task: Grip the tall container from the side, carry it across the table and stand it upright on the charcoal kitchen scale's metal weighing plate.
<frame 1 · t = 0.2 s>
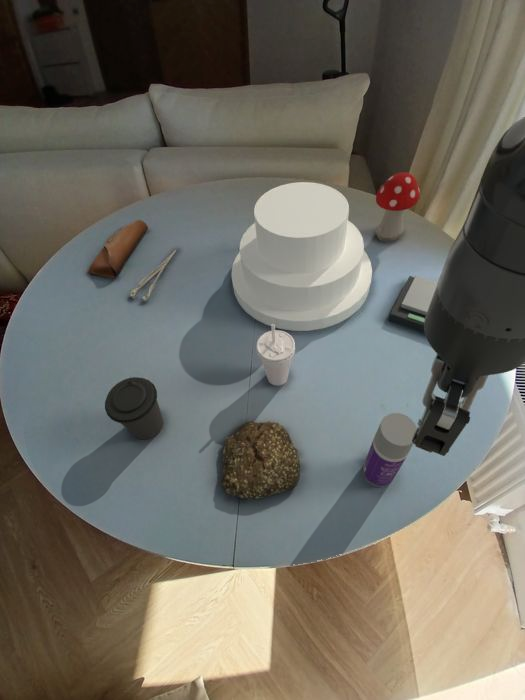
hand: (435, 407, 39), 25 cm above the table, tool pointing down, fingers open, 8 cm apart
jawbone: (159, 275, 91), on the table
cake: (300, 279, 87), on the table
sunglasses case: (120, 252, 97), on the table
smoothie: (277, 377, 72), on the table
scale: (427, 310, 79), on the table
bread roll: (259, 459, 63), on the table
container: (378, 472, 60), on the table
coffee cup: (148, 425, 68), on the table
decorative mushroom: (388, 235, 94), on the table
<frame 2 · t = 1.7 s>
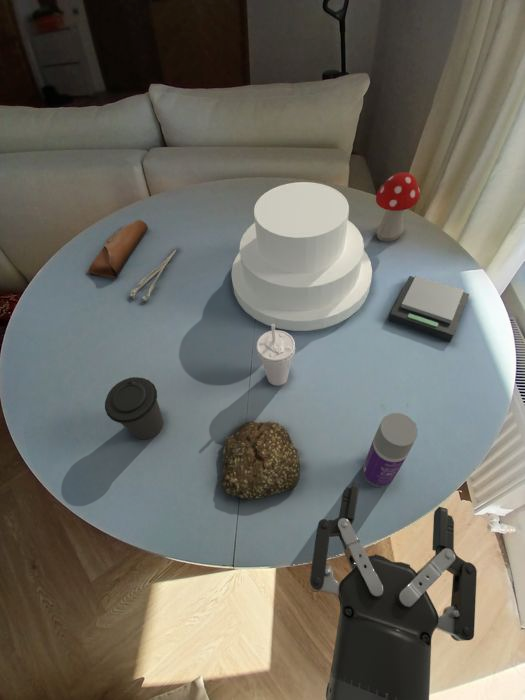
hand: (396, 497, 40), 18 cm above the table, tool horizontal, fingers open, 8 cm apart
nothing on the table moved.
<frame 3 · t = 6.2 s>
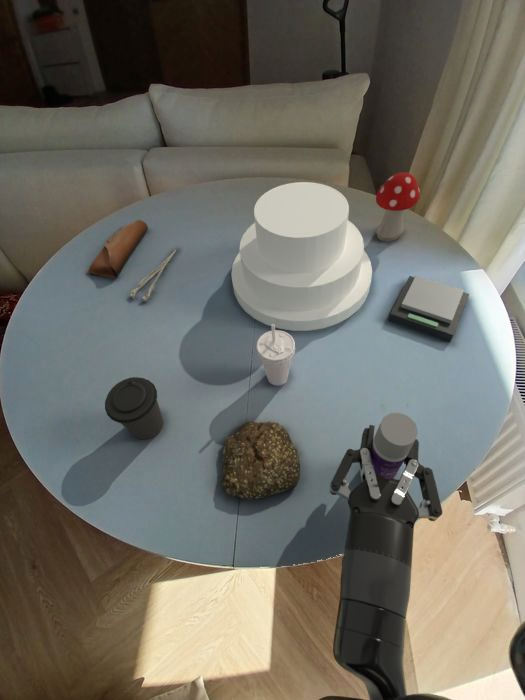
hand: (390, 432, 55), 8 cm above the table, tool horizontal, fingers closed on container, 4 cm apart
container: (377, 472, 60), on the table, touching gripper
everything else where it was.
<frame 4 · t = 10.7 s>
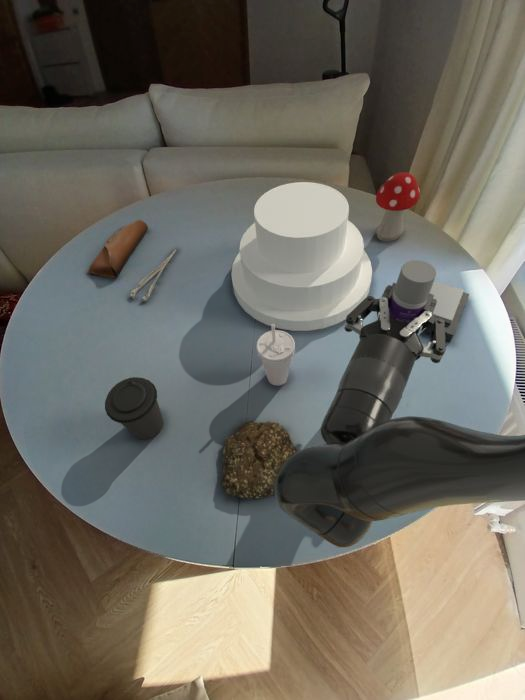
hand: (411, 293, 59), 17 cm above the table, tool horizontal, fingers closed on container, 4 cm apart
container: (393, 342, 64), point 9 cm above the table, touching gripper
everything else where it was.
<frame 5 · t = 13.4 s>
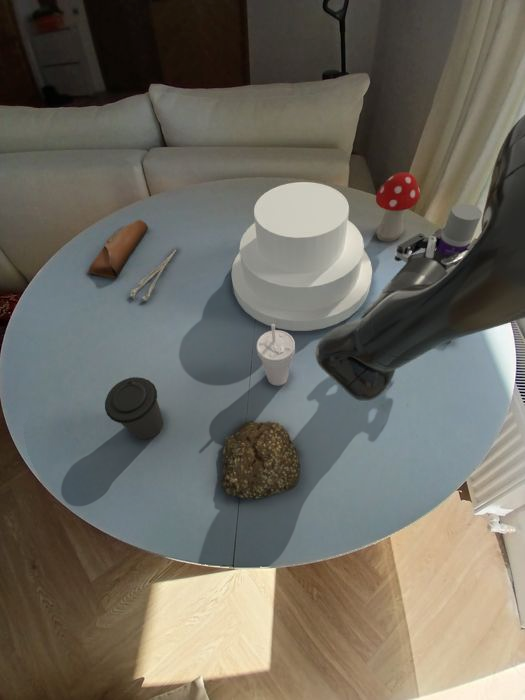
hand: (459, 237, 67), 16 cm above the table, tool horizontal, fingers closed on container, 4 cm apart
container: (437, 283, 73), point 7 cm above the table, touching gripper
everything else where it was.
when the fingers open (12 cm above the table, at t = 15.1 s): container stays where it is, resting on scale.
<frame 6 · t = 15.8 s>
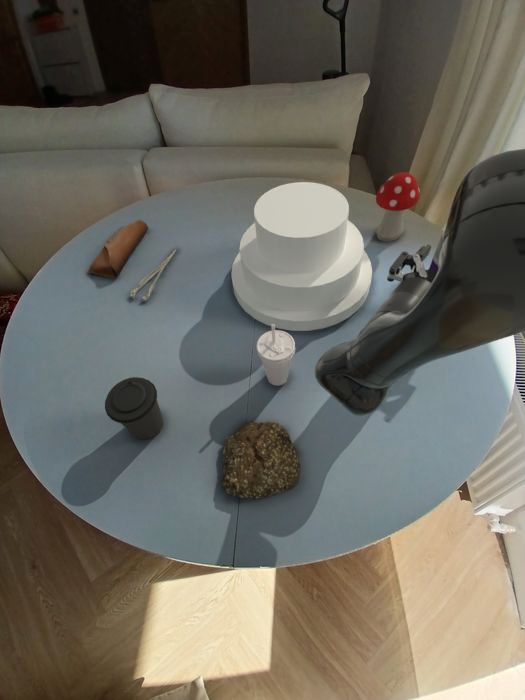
hand: (450, 257, 70), 12 cm above the table, tool horizontal, fingers open, 8 cm apart
container: (430, 301, 77), point 3 cm above the table, touching scale
everything else where it was.
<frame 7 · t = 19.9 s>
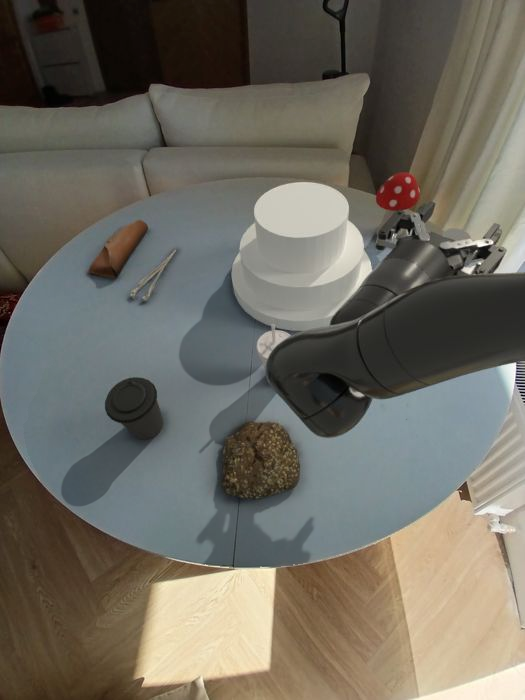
hand: (462, 218, 52), 28 cm above the table, tool horizontal, fingers open, 8 cm apart
nothing on the table moved.
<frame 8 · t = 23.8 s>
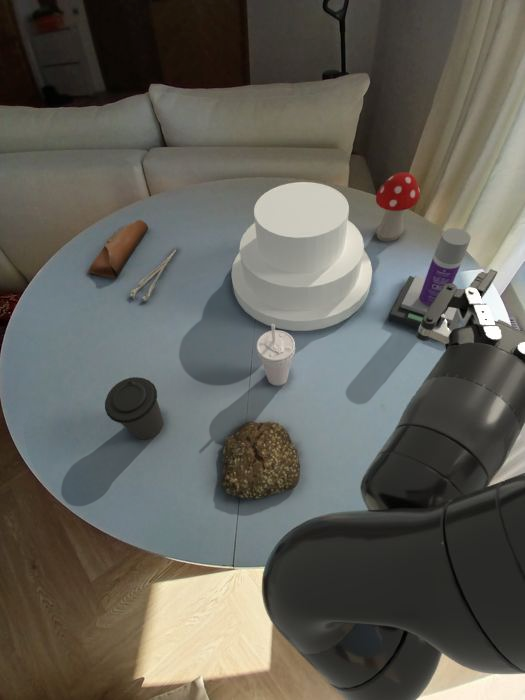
nothing on the table moved.
at the end: container inside the target area on the scale (1.1 cm from its centre), point 2.8 cm above the scale's base; container tilted 0°; the gripper is holding nothing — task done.
